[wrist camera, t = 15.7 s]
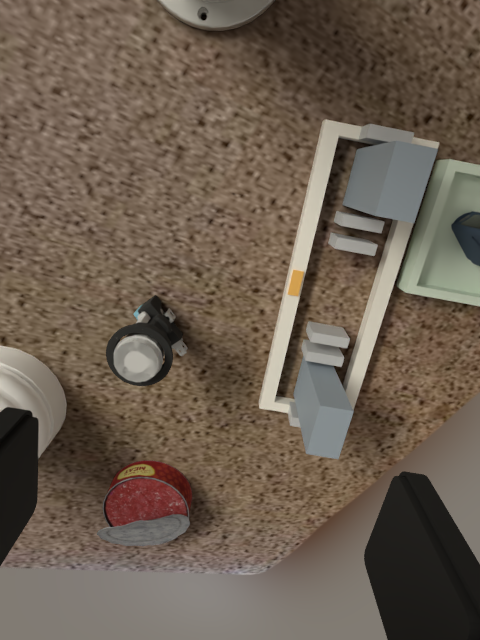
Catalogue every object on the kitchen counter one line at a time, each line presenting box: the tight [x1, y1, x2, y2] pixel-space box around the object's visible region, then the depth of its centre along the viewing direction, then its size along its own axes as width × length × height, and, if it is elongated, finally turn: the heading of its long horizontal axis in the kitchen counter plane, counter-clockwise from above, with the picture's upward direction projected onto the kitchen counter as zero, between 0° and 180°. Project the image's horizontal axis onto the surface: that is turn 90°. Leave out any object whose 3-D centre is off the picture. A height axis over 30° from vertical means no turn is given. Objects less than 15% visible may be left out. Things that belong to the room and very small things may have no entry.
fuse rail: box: [259, 119, 439, 459], centre depth 35 cm, size 28×10×10 cm, turn 170°
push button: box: [106, 295, 188, 386], centre depth 37 cm, size 7×5×10 cm
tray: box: [396, 159, 480, 306], centre depth 37 cm, size 12×10×2 cm
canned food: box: [97, 461, 192, 546], centre depth 46 cm, size 11×10×10 cm
